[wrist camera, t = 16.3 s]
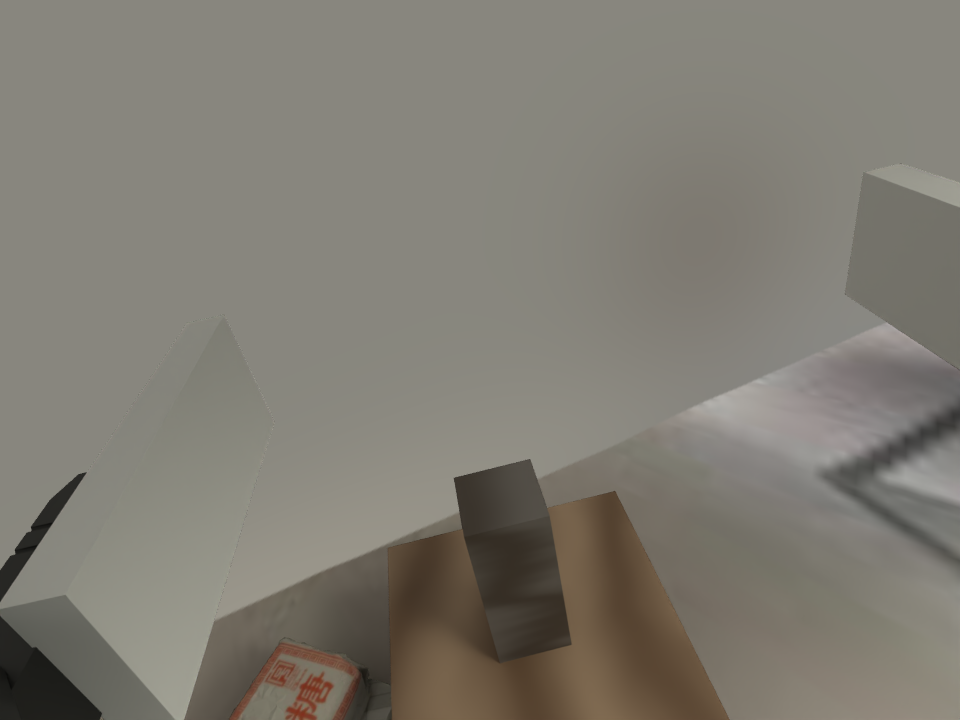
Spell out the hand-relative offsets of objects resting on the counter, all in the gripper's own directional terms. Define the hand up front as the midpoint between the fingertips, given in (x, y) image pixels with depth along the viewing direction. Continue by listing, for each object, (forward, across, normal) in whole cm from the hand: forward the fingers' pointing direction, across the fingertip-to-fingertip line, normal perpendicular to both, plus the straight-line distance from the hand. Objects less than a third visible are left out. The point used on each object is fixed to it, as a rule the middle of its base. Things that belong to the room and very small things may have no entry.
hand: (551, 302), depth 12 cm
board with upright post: (+10, -2, -26) cm, 28 cm away
